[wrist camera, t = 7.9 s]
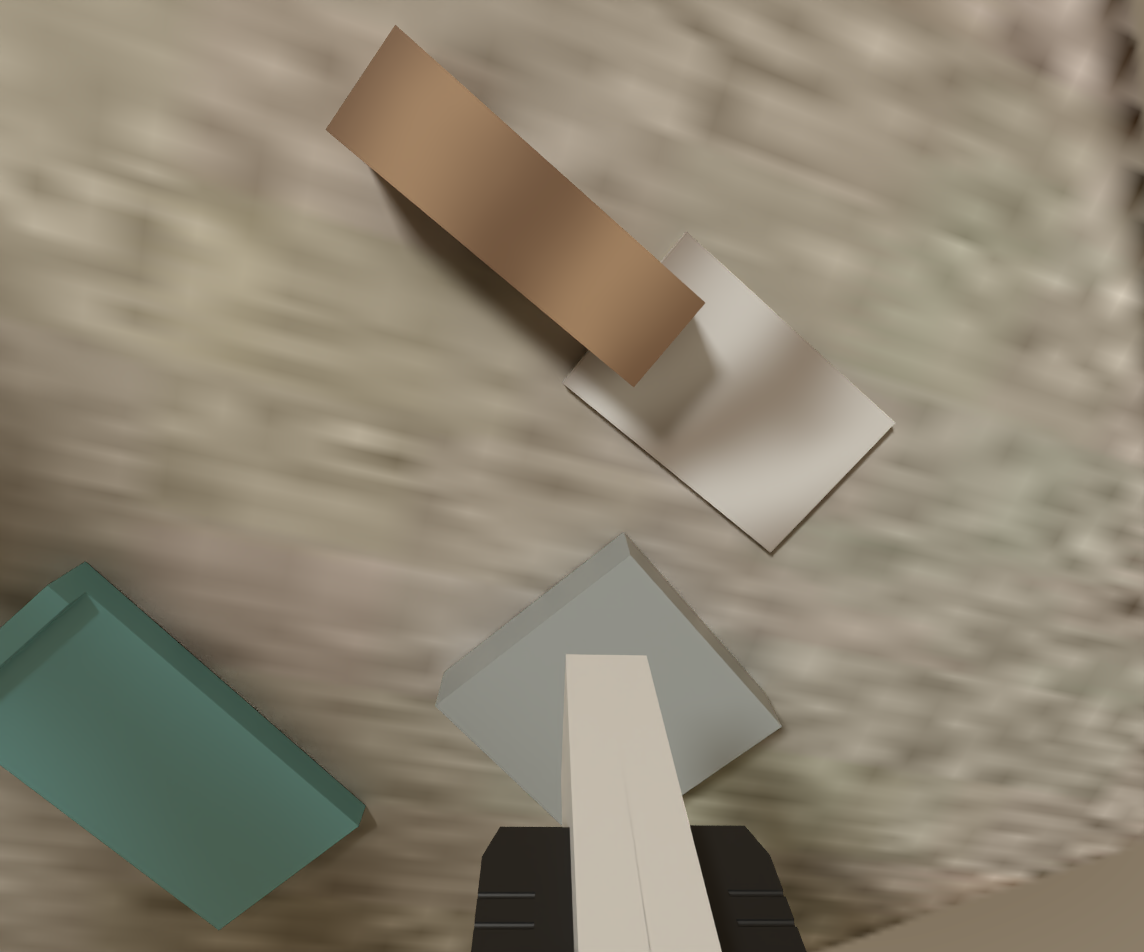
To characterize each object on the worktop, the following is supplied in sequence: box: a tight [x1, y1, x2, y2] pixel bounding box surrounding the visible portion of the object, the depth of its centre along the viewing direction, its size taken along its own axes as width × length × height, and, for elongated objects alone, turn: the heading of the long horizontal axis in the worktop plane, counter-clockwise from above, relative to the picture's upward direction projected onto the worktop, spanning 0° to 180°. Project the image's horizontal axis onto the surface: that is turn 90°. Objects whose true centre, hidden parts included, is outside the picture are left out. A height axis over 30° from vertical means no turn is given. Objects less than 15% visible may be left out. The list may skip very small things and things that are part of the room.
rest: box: [0, 562, 365, 930], centre depth 29 cm, size 16×9×2 cm, turn 40°
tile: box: [435, 532, 782, 825], centre depth 29 cm, size 3×10×10 cm
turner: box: [326, 25, 895, 553], centre depth 24 cm, size 22×7×4 cm, turn 50°
